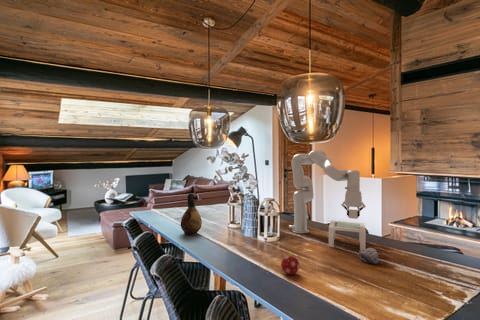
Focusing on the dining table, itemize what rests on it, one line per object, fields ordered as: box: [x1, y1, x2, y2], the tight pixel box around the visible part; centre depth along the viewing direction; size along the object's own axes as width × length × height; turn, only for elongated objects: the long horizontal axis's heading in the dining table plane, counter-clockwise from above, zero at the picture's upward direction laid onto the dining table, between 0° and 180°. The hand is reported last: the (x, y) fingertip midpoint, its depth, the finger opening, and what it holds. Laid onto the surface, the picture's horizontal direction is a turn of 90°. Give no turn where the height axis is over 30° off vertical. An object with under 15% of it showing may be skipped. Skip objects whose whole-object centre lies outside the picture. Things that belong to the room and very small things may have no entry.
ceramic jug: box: [180, 192, 203, 237], centre depth 205 cm, size 17×15×30 cm
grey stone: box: [348, 208, 358, 220], centre depth 181 cm, size 5×5×5 cm
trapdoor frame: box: [328, 220, 367, 251], centre depth 183 cm, size 22×21×12 cm
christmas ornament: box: [280, 252, 300, 276], centre depth 134 cm, size 9×9×10 cm
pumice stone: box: [358, 247, 380, 265], centre depth 152 cm, size 10×8×10 cm
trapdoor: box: [335, 221, 359, 229], centre depth 183 cm, size 15×14×1 cm
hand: (353, 216), depth 181 cm, fingers closed on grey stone, 5 cm apart
